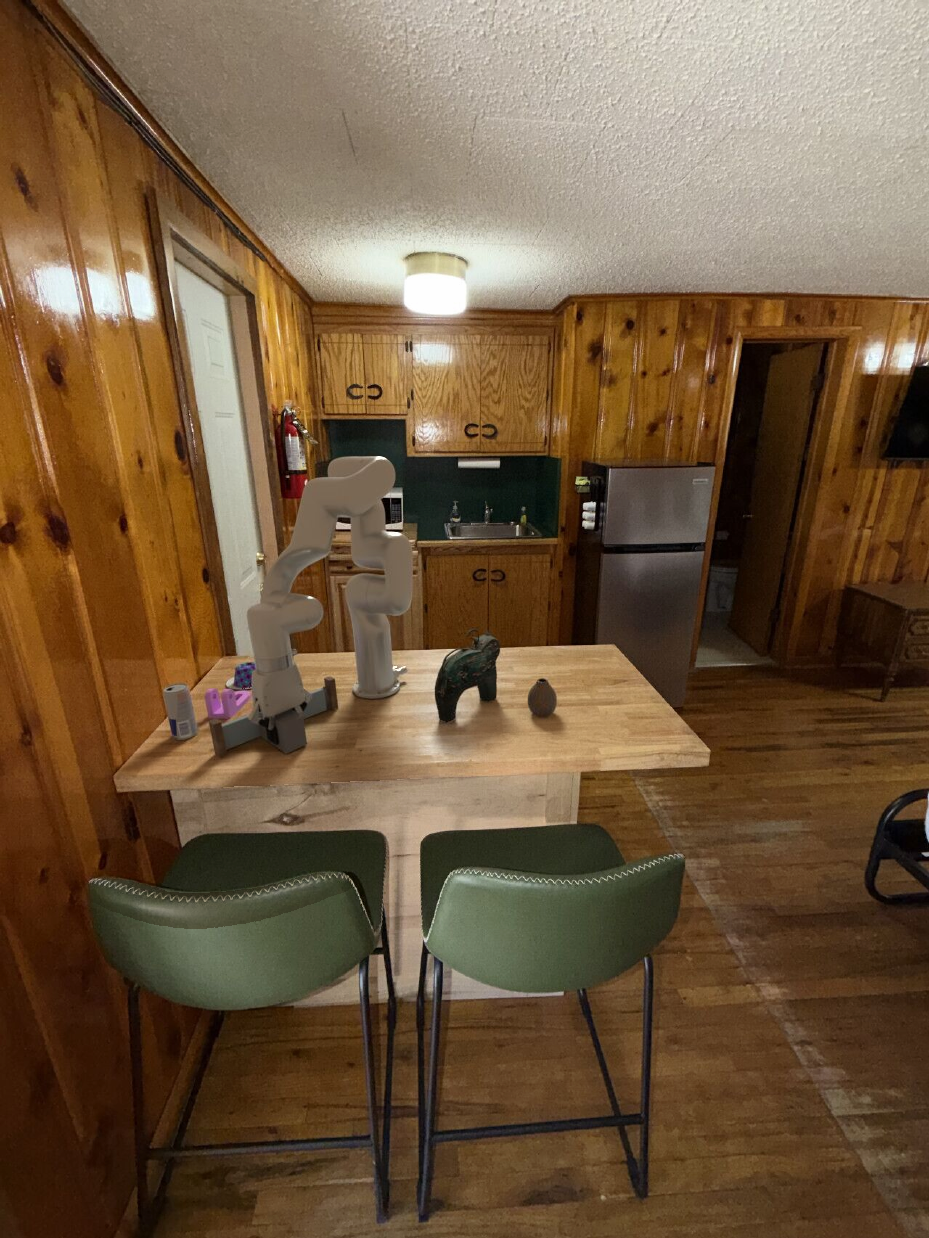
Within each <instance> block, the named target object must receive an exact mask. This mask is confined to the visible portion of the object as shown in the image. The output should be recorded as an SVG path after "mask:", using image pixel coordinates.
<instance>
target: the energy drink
mask: <svg viewBox="0 0 929 1238" xmlns="http://www.w3.org/2000/svg"><path fill="white" fill-rule="evenodd" d="M162 696H163V697H162V698H163V700H164V706H165V709H166V715H167V718H168V719H167V720H168V724H169V727H170V732H171V737H172V738H173V739H174V740H176V741H185V740H189V739H191V738H193V737H195V736H196V735H197V733H198V732H199V728H198V725H197V719H196V714H195V709H194V704H193V699H192V695H191V690H190V686H189V685H188V684H187V683H186V682H185V683H184V682H177V683H172V684H169V685H167V686H166V687H164V688H163V692H162Z"/></svg>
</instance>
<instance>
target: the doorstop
mask: <svg viewBox="0 0 929 1238" xmlns="http://www.w3.org/2000/svg"><path fill="white" fill-rule="evenodd" d="M304 721H305V719H303V716H302V715H301V714H299V713H297V712H295V711H294V710H292V709H289V710H287V711H284V712H282V713H279V714H277V715H275V722H274V727H276V728H277V732H278V738H279V744H278V745H275V744H274V743H272V742H270V741H269V740H268V738H267V733H266V727H263V726H261V725H259V726H260V732H261V736H260V737H262V738H263V739H264V740H265V741H267V742H269V743H270V744H271V745H273V746H274V747H276V748H277V749H278V750H280V751H282V752H283V753H285V754H286V755H287V754H290V753H291V752H293V751H296V750H297V749H300V748H302V747H303V746H304V747H305V746H306V745H308V741H307V740H308V739H307V735H306V734H307V733H306V728H305V727H306V726H305V722H304Z"/></svg>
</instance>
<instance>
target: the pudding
mask: <svg viewBox="0 0 929 1238" xmlns="http://www.w3.org/2000/svg"><path fill="white" fill-rule="evenodd" d="M255 669H256V667H255V661H254V662H253V661H248V662H247V661H246V662H243V663H240V664H238V665H237V666H235V668H234V676H233V677H231V678H229V679H228V680H227V681H226V683H225V685H226V687H227V688H228V689H233V690H248V689H252V687H250V688H249V687H248V686H252V671H253V670H255ZM244 687H245V689H244ZM246 687H247V688H246ZM242 688H243V689H242Z"/></svg>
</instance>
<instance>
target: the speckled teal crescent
mask: <svg viewBox="0 0 929 1238" xmlns="http://www.w3.org/2000/svg"><path fill="white" fill-rule="evenodd" d="M472 632H475V633H476V634H477V637H474V636H473V637H472V636H471V637H470V639H471V640H472V641H473V642H472V644H471V647H458V648H455V649H454V650H451V651H450V652H449V653H447V654H446V655H444V656H445V657H444V658H443V660H442V663H441V667H439V671H438V673H437V677H436V680H435V685H434V699H435V705H436V709H437V715H438V720H439V721H441V722H444V723H445V724H448V723H451V722H453V721H455V720H456V718H457V706H458V703H459V700H460V698H461V696H462V695H463V693H464V692H465V691H467V690H469V689H471V688H474V687H476V688H477V691H478V694H479V699H480V700H481V701H484V702H486V703H490V702H491V701H493V700H496V699H497V698H498V697H497V696H498V695H497V692H498V691H497V690H498V689H497V688H498V687H497V683H498V682H497V679H498V671H497V659H498V657H499V656H500V654H501V644H500V641H499V639H497V638H496V637H494V636H492V635H491V632H490V630H488V629H486V632H485V634H482V635H480V634H479V631H478V630H476V629H474V628H473V629H469V630H468V631H467V634H466V637H467V638H469V636H470V634H471V633H472ZM453 653H454V654H453Z"/></svg>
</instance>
